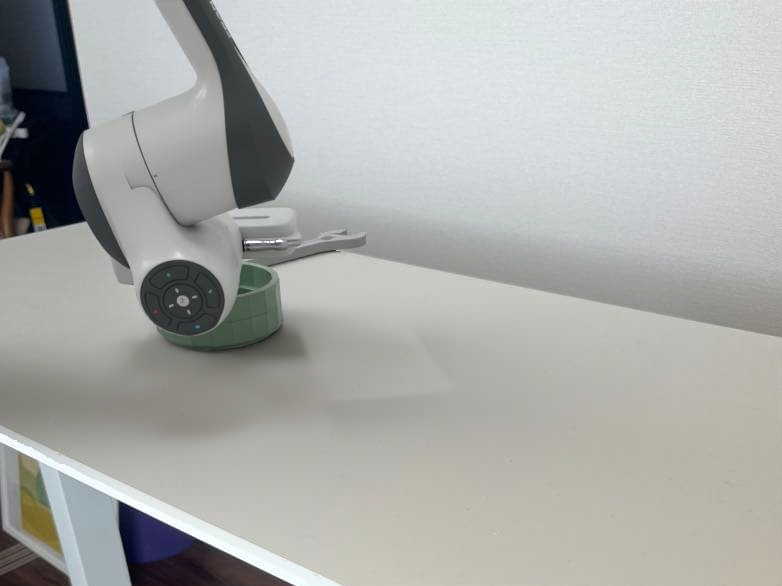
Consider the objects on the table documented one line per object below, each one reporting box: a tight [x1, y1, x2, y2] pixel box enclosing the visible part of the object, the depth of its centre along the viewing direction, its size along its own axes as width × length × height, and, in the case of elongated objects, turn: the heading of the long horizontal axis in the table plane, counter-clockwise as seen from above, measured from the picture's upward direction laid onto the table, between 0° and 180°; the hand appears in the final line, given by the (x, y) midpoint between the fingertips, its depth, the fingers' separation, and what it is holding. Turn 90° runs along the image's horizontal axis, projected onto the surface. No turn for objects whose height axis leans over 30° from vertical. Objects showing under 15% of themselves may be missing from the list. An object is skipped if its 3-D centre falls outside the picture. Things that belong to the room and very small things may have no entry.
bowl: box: [155, 262, 284, 351], centre depth 96 cm, size 15×15×6 cm
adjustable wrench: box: [242, 228, 367, 267], centre depth 122 cm, size 25×6×2 cm, turn 127°
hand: (208, 215), depth 93 cm, fingers closed
